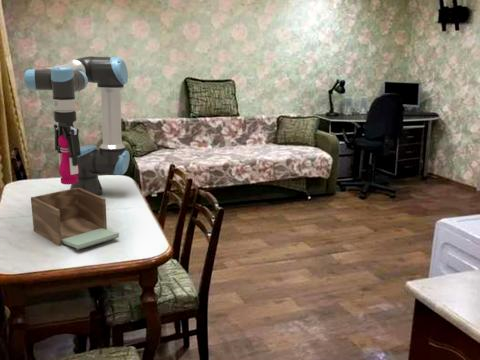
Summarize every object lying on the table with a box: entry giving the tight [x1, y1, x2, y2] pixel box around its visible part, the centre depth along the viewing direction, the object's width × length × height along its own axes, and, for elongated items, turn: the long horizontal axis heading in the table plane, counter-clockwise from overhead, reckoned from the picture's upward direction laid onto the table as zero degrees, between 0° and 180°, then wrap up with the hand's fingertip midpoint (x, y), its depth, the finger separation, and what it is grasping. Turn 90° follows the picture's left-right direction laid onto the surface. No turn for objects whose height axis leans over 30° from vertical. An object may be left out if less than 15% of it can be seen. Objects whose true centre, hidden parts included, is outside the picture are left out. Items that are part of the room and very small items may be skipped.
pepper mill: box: [58, 135, 79, 185], centre depth 181 cm, size 7×7×20 cm
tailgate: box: [62, 228, 120, 251], centre depth 181 cm, size 17×2×12 cm
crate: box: [30, 187, 108, 247], centre depth 189 cm, size 20×20×14 cm
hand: (69, 171), depth 183 cm, fingers closed on pepper mill, 7 cm apart
